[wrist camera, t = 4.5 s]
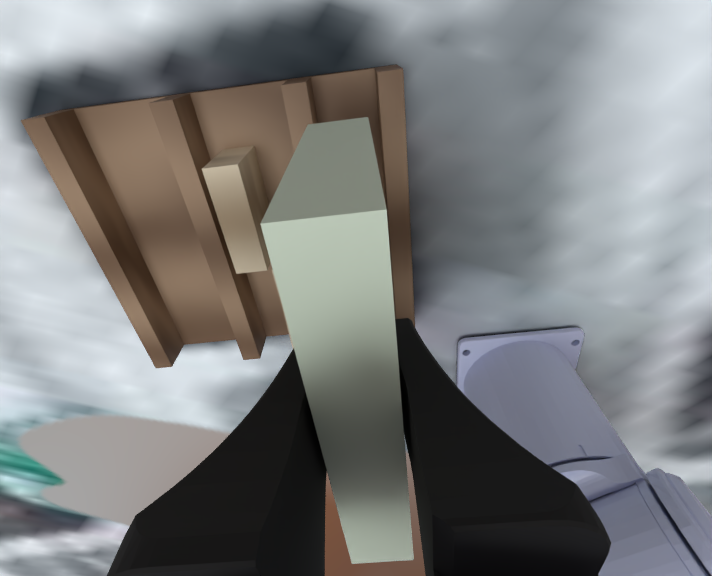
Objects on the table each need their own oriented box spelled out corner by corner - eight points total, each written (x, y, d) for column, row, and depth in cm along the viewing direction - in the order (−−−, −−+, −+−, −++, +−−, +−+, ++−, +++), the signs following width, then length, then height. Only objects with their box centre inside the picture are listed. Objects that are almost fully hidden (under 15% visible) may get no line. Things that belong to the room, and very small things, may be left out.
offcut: (278, 240, 21) (267, 270, 18) (251, 243, 21) (236, 273, 19) (254, 145, 18) (237, 164, 16) (223, 149, 19) (201, 168, 16)
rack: (410, 316, 25) (415, 343, 23) (172, 339, 26) (155, 368, 24) (396, 64, 17) (403, 68, 15) (60, 110, 18) (20, 120, 16)
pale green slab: (392, 376, 19) (413, 560, 13) (351, 380, 19) (352, 563, 13) (368, 116, 13) (386, 209, 6) (307, 124, 13) (260, 223, 6)
